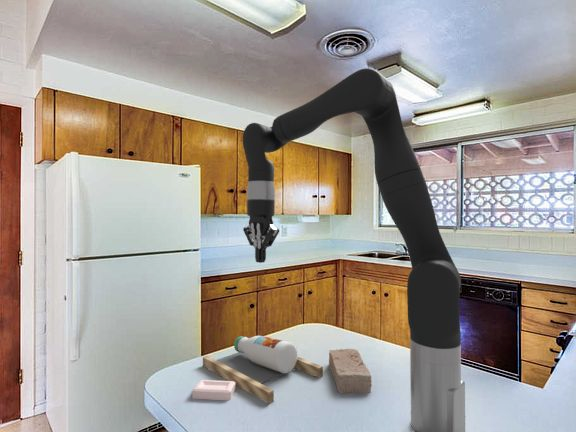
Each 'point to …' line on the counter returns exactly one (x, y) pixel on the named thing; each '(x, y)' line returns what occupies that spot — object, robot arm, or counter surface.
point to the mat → (250, 368)
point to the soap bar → (213, 390)
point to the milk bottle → (268, 352)
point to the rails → (252, 385)
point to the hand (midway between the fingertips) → (260, 262)
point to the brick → (349, 371)
